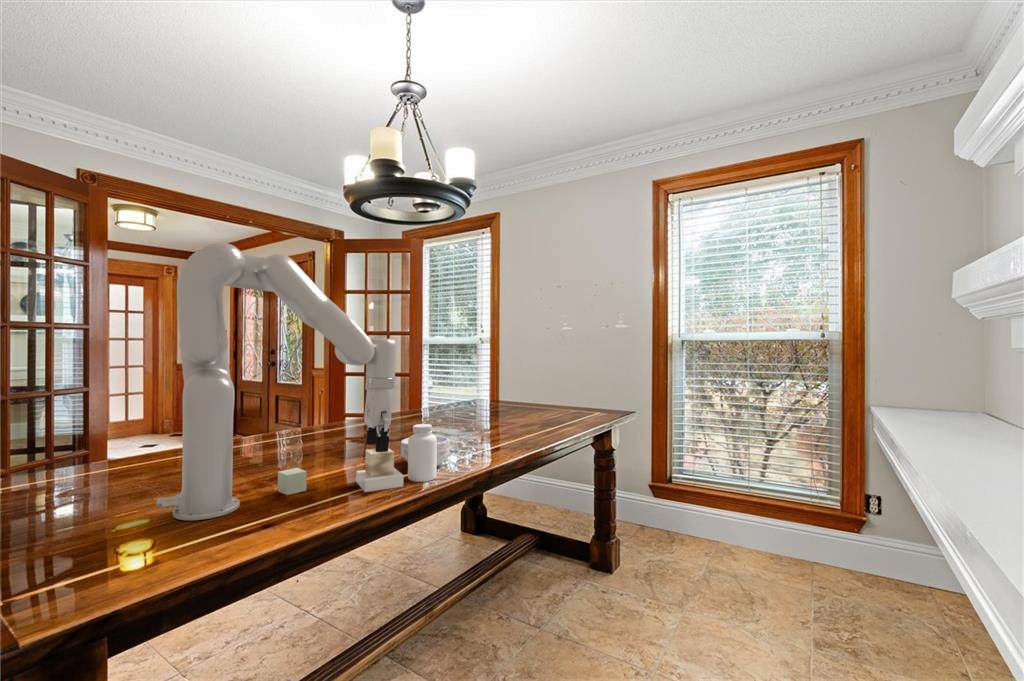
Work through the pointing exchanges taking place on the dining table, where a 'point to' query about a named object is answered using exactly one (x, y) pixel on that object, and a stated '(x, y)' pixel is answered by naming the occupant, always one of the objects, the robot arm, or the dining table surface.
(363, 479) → the plinth
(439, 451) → the paper bowls
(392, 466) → the maple cube
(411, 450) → the pill bottle
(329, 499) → the dining table surface
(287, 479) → the sage cube
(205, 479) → the robot arm
